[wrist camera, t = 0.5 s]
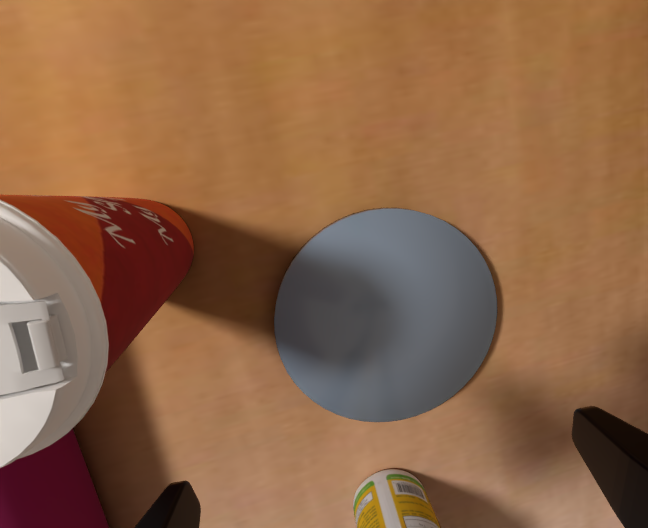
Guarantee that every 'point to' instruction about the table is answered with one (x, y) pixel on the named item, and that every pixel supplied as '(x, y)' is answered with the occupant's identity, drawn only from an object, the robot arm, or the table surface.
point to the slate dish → (385, 314)
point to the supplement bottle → (393, 502)
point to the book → (50, 490)
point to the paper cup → (75, 303)
